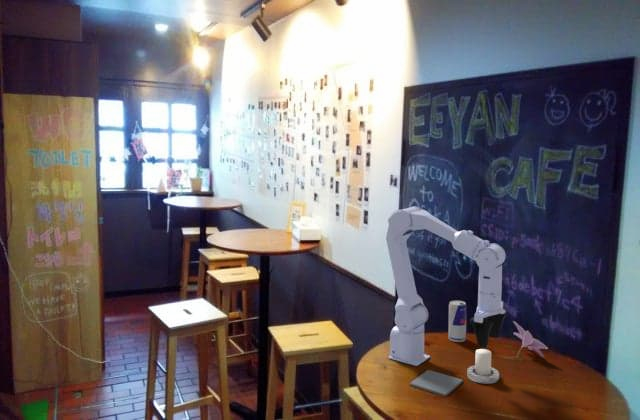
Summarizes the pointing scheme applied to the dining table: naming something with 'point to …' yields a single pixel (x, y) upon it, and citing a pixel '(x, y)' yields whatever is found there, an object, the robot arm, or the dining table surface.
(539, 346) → the lily
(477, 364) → the peg
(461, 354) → the dining table surface
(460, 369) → the dining table surface
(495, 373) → the ring
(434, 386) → the mat
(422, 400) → the dining table surface
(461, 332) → the energy drink
